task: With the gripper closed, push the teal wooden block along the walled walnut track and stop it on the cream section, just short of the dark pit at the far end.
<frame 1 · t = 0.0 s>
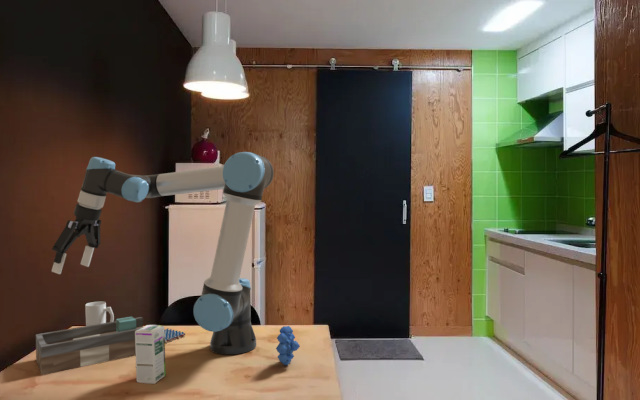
hand: (70, 268, 147), 28 cm above the table, tool tilted 20°, fingers open, 13 cm apart
block: (126, 334, 153), point 5 cm above the table, touching track
grapes: (289, 365, 138), on the table
mug: (100, 337, 167), on the table
track: (97, 355, 148), on the table
syrup box: (151, 380, 128), on the table
woven mat: (165, 340, 165), on the table
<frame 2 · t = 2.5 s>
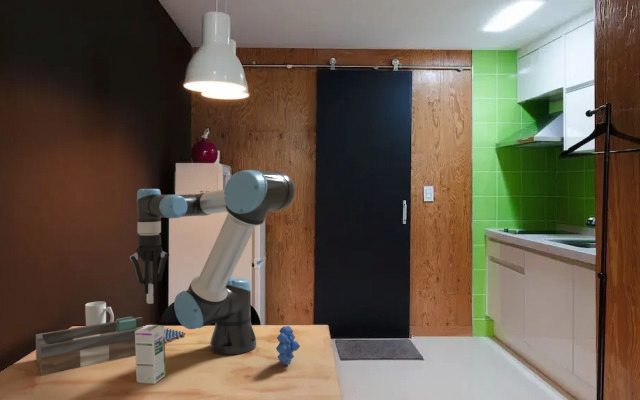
hand: (149, 302, 158), 14 cm above the table, tool pointing down, fingers closed
nothing on the table moved.
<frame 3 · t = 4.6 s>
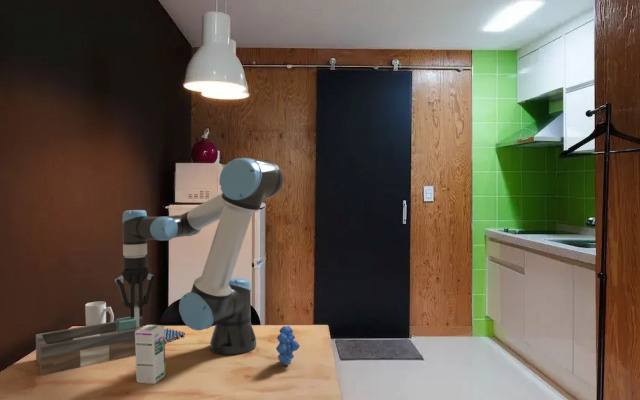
hand: (136, 326, 155), 7 cm above the table, tool pointing down, fingers closed
block: (126, 334, 153), point 5 cm above the table, touching gripper
everything else where it was.
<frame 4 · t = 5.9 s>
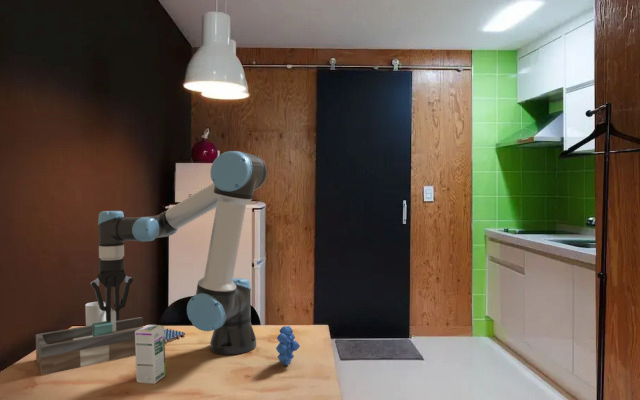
hand: (112, 330, 150), 7 cm above the table, tool pointing down, fingers closed
block: (102, 338, 148), point 5 cm above the table, touching gripper, track
everything else where it was.
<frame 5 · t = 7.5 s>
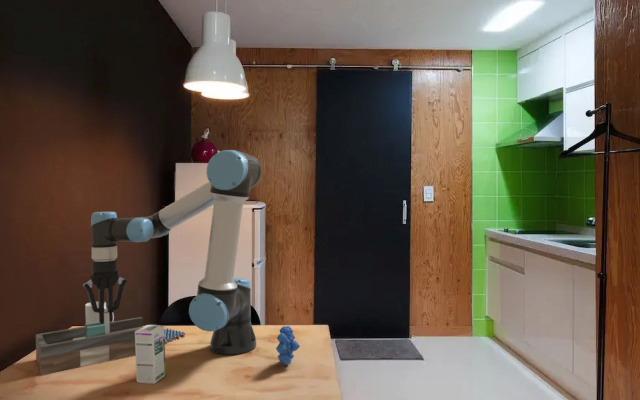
hand: (106, 332, 149), 7 cm above the table, tool pointing down, fingers closed
block: (95, 340, 147), point 5 cm above the table, touching track
everything else where it was.
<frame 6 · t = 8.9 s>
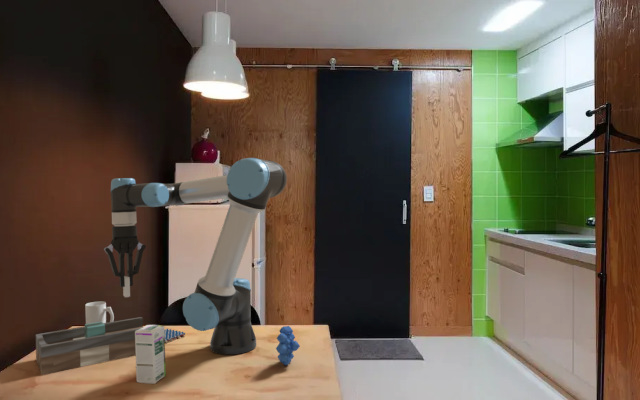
hand: (126, 296, 152), 18 cm above the table, tool pointing down, fingers closed
nothing on the table moved.
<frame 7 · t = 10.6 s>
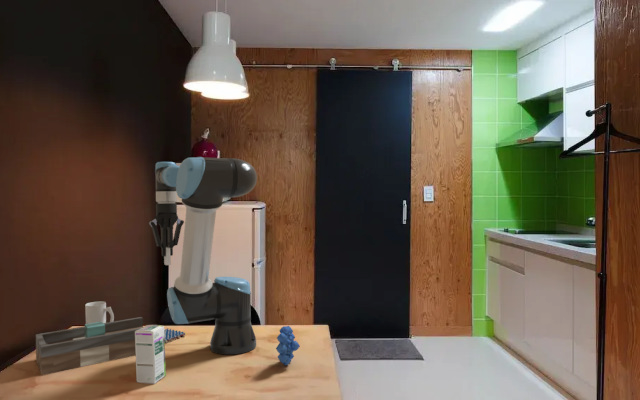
hand: (167, 264, 176), 24 cm above the table, tool pointing down, fingers closed
nothing on the table moved.
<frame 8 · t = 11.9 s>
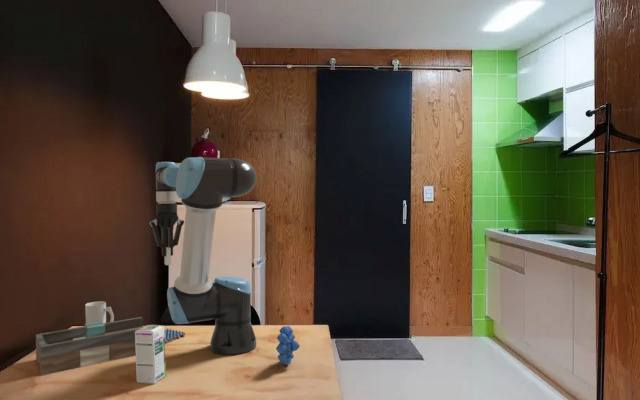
hand: (167, 264, 176), 24 cm above the table, tool pointing down, fingers closed
nothing on the table moved.
at the end: block inside the target area (1.0 cm from its centre), point 5.0 cm above the table; block tilted 0° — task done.
